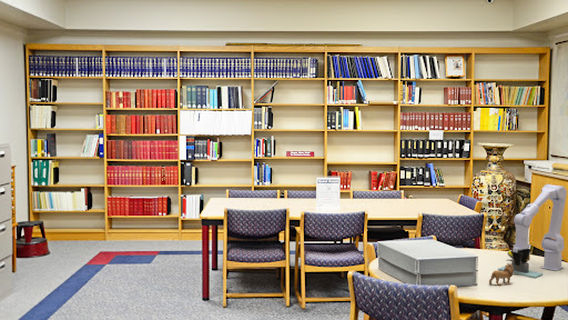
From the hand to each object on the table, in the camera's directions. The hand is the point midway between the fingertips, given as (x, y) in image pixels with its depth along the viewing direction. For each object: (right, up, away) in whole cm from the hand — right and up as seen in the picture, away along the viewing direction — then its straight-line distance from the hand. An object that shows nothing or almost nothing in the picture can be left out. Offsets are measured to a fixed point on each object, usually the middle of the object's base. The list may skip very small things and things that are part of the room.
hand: (520, 263), depth 276 cm
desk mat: (0, -4, 0) cm, 4 cm away
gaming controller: (+11, -3, +27) cm, 29 cm away
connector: (0, -4, 0) cm, 4 cm away
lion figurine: (-17, -6, -19) cm, 27 cm away
